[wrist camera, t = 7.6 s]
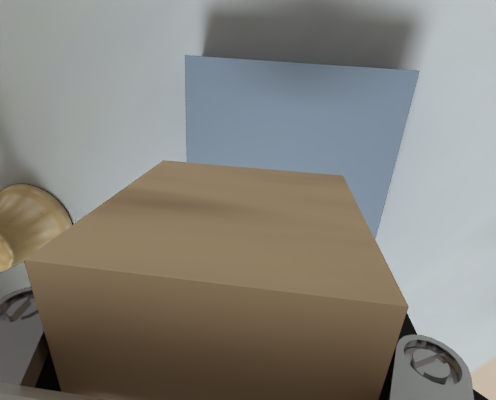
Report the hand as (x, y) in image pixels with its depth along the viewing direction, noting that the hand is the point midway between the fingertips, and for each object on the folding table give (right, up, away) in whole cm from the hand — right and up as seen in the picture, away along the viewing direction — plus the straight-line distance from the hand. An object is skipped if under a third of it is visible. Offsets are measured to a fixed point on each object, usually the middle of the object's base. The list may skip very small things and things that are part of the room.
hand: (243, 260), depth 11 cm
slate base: (+3, +5, +14) cm, 16 cm away
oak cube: (0, 0, +1) cm, 1 cm away
